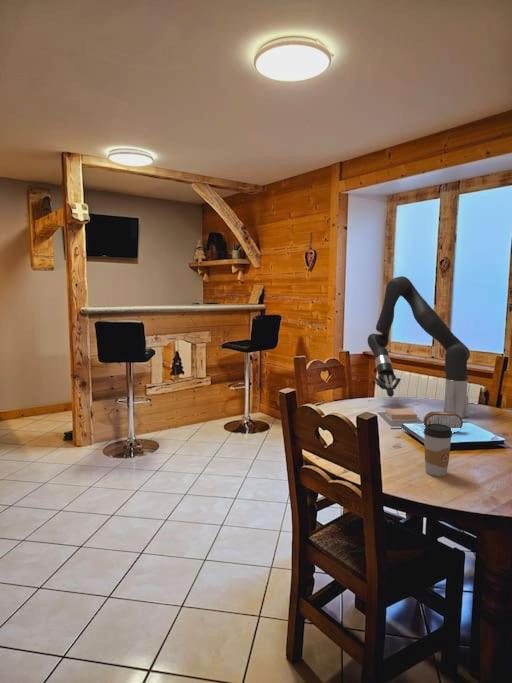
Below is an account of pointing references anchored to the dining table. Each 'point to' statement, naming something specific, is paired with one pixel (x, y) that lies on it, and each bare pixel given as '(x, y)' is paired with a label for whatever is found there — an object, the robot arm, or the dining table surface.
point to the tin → (444, 419)
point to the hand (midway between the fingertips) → (391, 395)
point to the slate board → (397, 423)
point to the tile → (401, 415)
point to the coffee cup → (437, 449)
